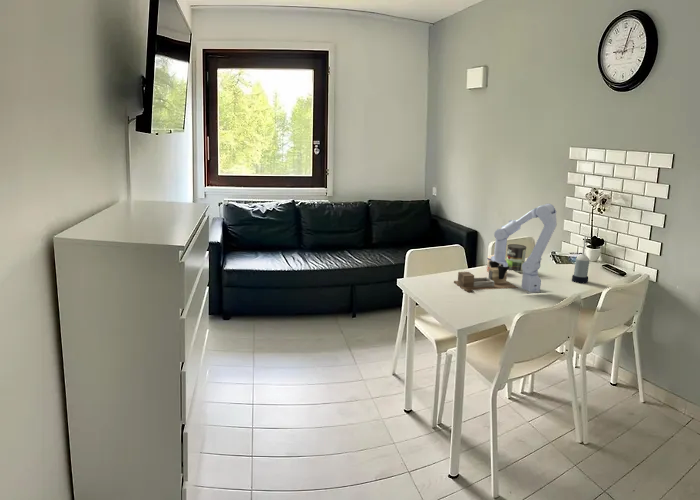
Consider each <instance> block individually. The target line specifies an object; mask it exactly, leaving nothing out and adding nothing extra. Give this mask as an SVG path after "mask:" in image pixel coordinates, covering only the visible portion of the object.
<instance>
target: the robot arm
mask: <svg viewBox="0 0 700 500" xmlns="http://www.w3.org/2000/svg"><path fill="white" fill-rule="evenodd" d="M535 218H538V219H539V220H540V221H541V222H542V224H543V228H542V230H541V232H540V234H539V236H538V238H537V240H536V242H535V245H534V247H533V249H532V251H531V253H530V255H529V256H528V257H527V259H525V262H524V263H523V264H522V270H523V272H522V278H521V287H520V288H521V289H523V290H525V291H527V292H528V293H535V294H537V293H538V294H540V293H541V294H542V292H540V291H541V285H542V279H541V278H540V276H539V271H538V270H539V269H540V268H541V261H542V260H543V258H542V256H543V254H544V252H545V251H546V249H547V246H548V244H549V242H550V240H551V238H552V236H553V234H554V232H555V231H556V228H557V224H558V223H557V210H556V208H555V206H554V205H553V204H551V203H545V204H541V205H538V206H537V207H535V208H533V209H530V211H528V212H527V213H525V214H524V215H522V216H521V217H519V218H518V219H510V220H508V222H507V223H506V224H504V225H501V228H497V229H496V230H495V231H494V233H493V235H494V238H495V241H494V250H493V251H494V253H493V255H494V256H491V255H490V256H491V260H492V261H489V263H490V266H491V268H498V270H499V279H503V278H504V276H505V273H506V271H507V270H508V269H509V266H508V263H507V262H506V257H507V247H508V238H509V237H510V236H511V235H513V234H515V233H517V232H518V231H519V230H520V229H521V226H522V225H524V224H526V223H528V221H530V220H532V219H535ZM499 264H501V266H499ZM507 272H508V271H507Z"/></svg>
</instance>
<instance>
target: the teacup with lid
mask: <svg viewBox="0 0 700 500" xmlns="http://www.w3.org/2000/svg"><path fill="white" fill-rule="evenodd" d="M491 256H494V254H491V255H488V256H487V262H486V264H487V265H486V273H488V274H489V269H490V268H491V266H490V263H489V261H492V260H491ZM499 266H501V264H499Z"/></svg>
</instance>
